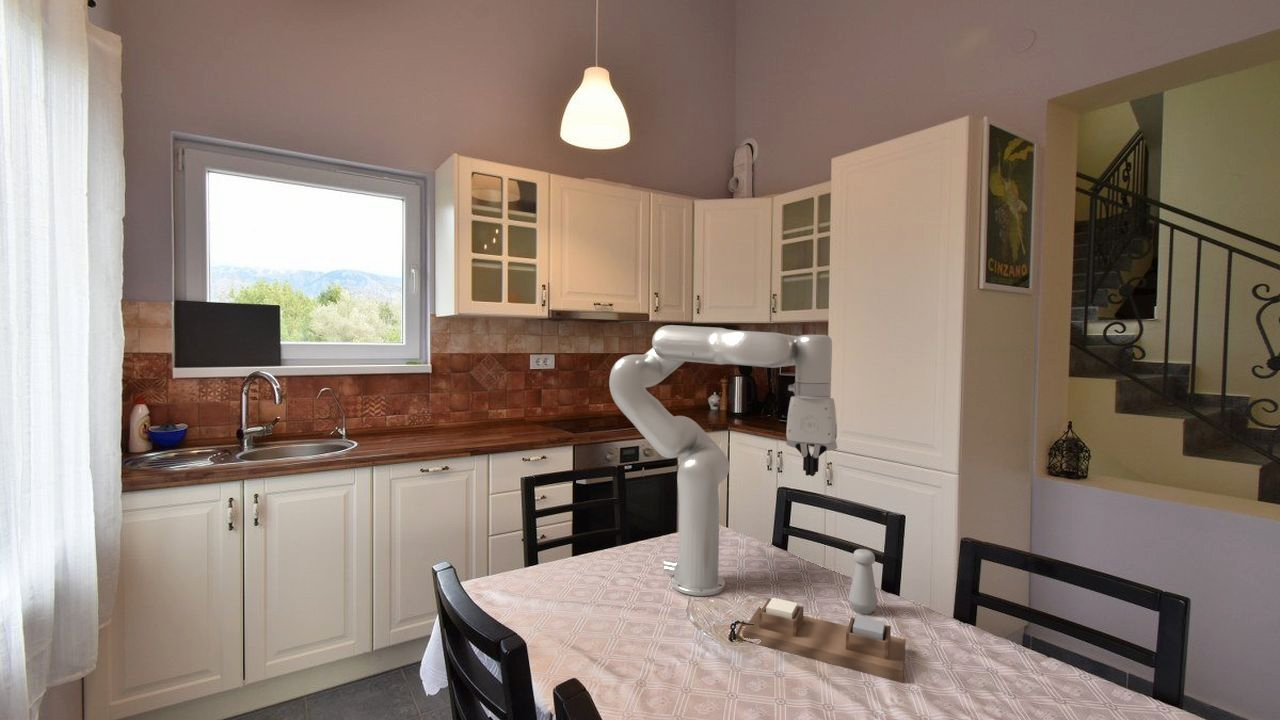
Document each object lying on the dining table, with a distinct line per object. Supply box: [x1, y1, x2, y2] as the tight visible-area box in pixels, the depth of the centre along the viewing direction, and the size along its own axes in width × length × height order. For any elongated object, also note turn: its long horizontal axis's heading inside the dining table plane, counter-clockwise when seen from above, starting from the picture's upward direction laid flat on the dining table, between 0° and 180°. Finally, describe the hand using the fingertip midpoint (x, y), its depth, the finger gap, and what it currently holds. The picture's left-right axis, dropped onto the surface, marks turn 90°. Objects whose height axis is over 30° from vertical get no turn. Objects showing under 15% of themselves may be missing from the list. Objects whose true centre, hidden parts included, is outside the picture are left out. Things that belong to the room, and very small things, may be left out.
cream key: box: [766, 597, 799, 619], centre depth 112 cm, size 5×5×2 cm
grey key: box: [853, 615, 886, 640], centre depth 104 cm, size 5×5×2 cm
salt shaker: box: [848, 548, 878, 616], centre depth 123 cm, size 6×6×13 cm
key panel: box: [742, 598, 907, 683], centre depth 108 cm, size 28×12×5 cm, turn 62°
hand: (810, 474), depth 124 cm, fingers closed
